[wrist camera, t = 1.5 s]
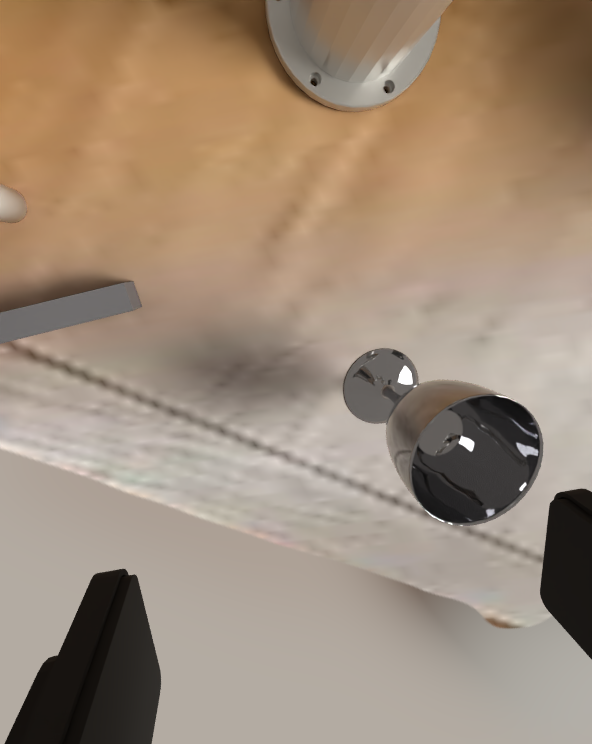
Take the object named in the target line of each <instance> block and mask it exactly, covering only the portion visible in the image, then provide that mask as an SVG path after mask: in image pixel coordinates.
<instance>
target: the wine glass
mask: <svg viewBox="0 0 592 744" xmlns="http://www.w3.org/2000/svg"><path fill="white" fill-rule="evenodd" d="M344 398H345V401H346V404H347V406H348V408H349V409H350V411H351V412H352V413H353V414H354V415H355V416H356V417H357V418H359V419H361V420H363V421H365V422H368V423H374V424H379V423H386V422H387V423H386V442H387V447H388V450H389V454H390V457H391V460H392V462H393V464H394V466H395V468H396V470H397V472H398V474H399V476H400V478H401V480H402V481H403V483H404V484H405V486H406V487H407V489H408V490H409V491H410V493H411V494H412V495H413V496H414V498H415V499H416V500H417V501H418V503H419V504H420V505H421V506H422V507H423V509H424V510H425V511H427V512H428V513H429V514H430V515H431V516H433V517H434V518H436V519H438V520H440V521H442V522H445V523H448V524H451V525H459V526H470V525H477V524H481V523H485V522H488V521H490V520H493V519H496V518H497V517H499V516H501V515H503V514H504V513H506V512H507V511H509V510H510V509H511V508H513V507H514V506H515V505H516V504H517V503H518V502H519V501H520V500H521V499H522V498H523V497H524V496H525V495H526V493H527V492H528V491H529V489H530V488H531V486H532V484H533V483H534V481H535V479H536V477H537V475H538V472H539V469H540V467H541V462H542V457H543V440H542V433H541V431H540V428H539V425H538V423H537V421H536V420H535V418H534V416H533V415H532V414H531V413H530V412H529V411H528V410H527V409H526V408H525V407H524V406H522V405H521V404H519V403H518V402H516V401H515V400H513V399H511V398H509V397H507V396H505V395H502V394H500V393H498V392H495V391H493V390H490V389H488V388H485V387H482V386H480V385H476V384H472V383H467V382H462V381H457V380H433V381H427V382H423V383H421V384H419V383H418V374H417V370H416V368H415V366H414V364H413V363H412V361H411V360H410V359H409V358H408V357H407V356H406V355H404V354H403V353H401V352H399V351H396V350H393V349H376V350H373V351H370V352H368V353H366V354H364V355H362V356H361V357H360V358H359V359H357V360H356V361H355V363H354V364H353V365H352V366H351V368H350V369H349V371H348V373H347V375H346V378H345V382H344Z"/></svg>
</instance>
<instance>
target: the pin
mask: <svg viewBox="0 0 592 744" xmlns="http://www.w3.org/2000/svg"><path fill="white" fill-rule="evenodd" d="M26 213H27V204H26V201H25V199H24V197H23V196H22V195H21V194H20V193H19V192H18V191H17V190H15V189H13V188H10V187H7V186H5V185H2V184H0V221H2V222H7V223H16V222H19V221H21V220H22V219H23V218H24V217H25V215H26Z"/></svg>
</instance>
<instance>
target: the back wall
mask: <svg viewBox="0 0 592 744" xmlns="http://www.w3.org/2000/svg"><path fill="white" fill-rule="evenodd" d="M140 307H142V305H141V302H140V299H139V296H138V293H137V291H136V288H135V285H134V282H133V281H132V282H125V283H120V284H116V285H112V286H108V287H104V288H100V289H96V290H91V291H87V292H83V293H79V294H75V295H71V296H67V297H63V298H58V299H54V300H50V301H46V302H42V303H38V304H34V305H30V306H26V307H21V308H17V309H13V310H9V311H5V312H1V313H0V344H1V343H5V342H9V341H13V340H17V339H21V338H25V337H29V336H33V335H37V334H41V333H45V332H49V331H53V330H57V329H61V328H65V327H69V326H73V325H77V324H81V323H85V322H89V321H93V320H97V319H101V318H105V317H109V316H113V315H117V314H121V313H125V312H129V311H133V310H135V309H138V308H140Z"/></svg>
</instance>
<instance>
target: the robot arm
mask: <svg viewBox="0 0 592 744" xmlns="http://www.w3.org/2000/svg"><path fill="white" fill-rule="evenodd" d="M452 1H453V0H280V1H276V0H265V7H266V20H267V25H268V30H269V35H270V38H271V41H272V44H273V47H274V49H275V52H276V55H277V57H278V58H279V60H280V62H281V64H282V66H283V67H284V69H285V71H286V72H287V74H288V75H289V76H290V77H291V79H292V80H293V81H294V82H295V84H296V85H297V86H298V87H299V88H300V89H301V90H303V91H304V92H305V93H306V94H307V95H308V96H310V97H311V98H313V99H314V100H316V101H318V102H320V103H321V104H323V105H325V106H328V107H331V108H334V109H337V110H340V111H351V112H359V111H367V110H372V109H375V108H378V107H380V106H383V105H386V104H387V103H389V102H390V101H392V100H394V99H395V98H397V97H398V96H399V95H400V94H402V93H403V92H404V91H405V90H406V89H407V88H408V87H409V86H410V85H411V84H412V83H413V81H414V80H415V79H416V78H417V77H418V76H419V75H420V73H421V72H422V70H423V68H424V67H425V65H426V63H427V62H428V60H429V58H430V56H431V53H432V50H433V48H434V45H435V43H436V40H437V35H438V30H439V26H440V20H441V14H442V13H443V12H444V11H445V10H446V8H447V7H448V6H449V5H450V4H451V2H452ZM311 81H314V82H315V83H316V86H313V85H312V84H311V83H310V82H311ZM384 88H385V89H386V90H387V93H386V92H385V91H384ZM540 595H541V599H542V601H543V603H544V605H545V607H546V608H547V610H548V611H549V612H550V613H551V614H552V615H553V616H554V618H555V619H556V620H557V621H558V622H559V623H560V624H561V625H562V627H563V628H564V629H565V630H566V631H567V632H568V633H569V634H570V635H571V637H572V638H573V639H574V640H575V641H576V642H577V643H578V644H579V646H580V647H581V648H582V649H583V650H584V651H585V652H586V654H587V655H588V656H589V657H590V658H591V659H592V492H591V491H588V490H586V489H576V490H570V491H565V492H560V493H557V494H556V495H555V497H554V500H553V501H552V502H551V503H550V507H549V516H548V524H547V533H546V542H545V551H544V560H543V569H542V578H541V587H540ZM160 689H161V674H160V668H159V663H158V659H157V655H156V651H155V647H154V643H153V639H152V635H151V631H150V627H149V623H148V618H147V614H146V611H145V606H144V602H143V598H142V594H141V590H140V586H139V582H138V578H137V576H136V575H128V572H127V571H126V570H125V569H119V570H114V571H109V572H102V573H97V574H95V575H94V576H93V577H92V579H91V581H90V584H89V586H88V588H87V590H86V593H85V595H84V597H83V600H82V602H81V605H80V606H79V609H78V611H77V613H76V615H75V618H74V620H73V622H72V625H71V627H70V629H69V632H68V634H67V636H66V639H65V641H64V643H63V645H62V647H61V650H60V652H59V654H58V656H53V657H50V658H48V659H47V660H46V661H45V662H44V663H43V665H42V666H41V668H40V670H39V672H38V673H37V676H36V678H35V680H34V682H33V684H32V686H31V689H30V691H29V693H28V695H27V697H26V699H25V701H24V703H23V706H22V708H21V710H20V712H19V714H18V716H17V718H16V721H15V723H14V725H13V727H12V729H11V731H10V733H9V736H8V737H7V740H6V742H5V744H151V743H152V737H153V732H154V726H155V719H156V714H157V708H158V701H159V696H160Z"/></svg>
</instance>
